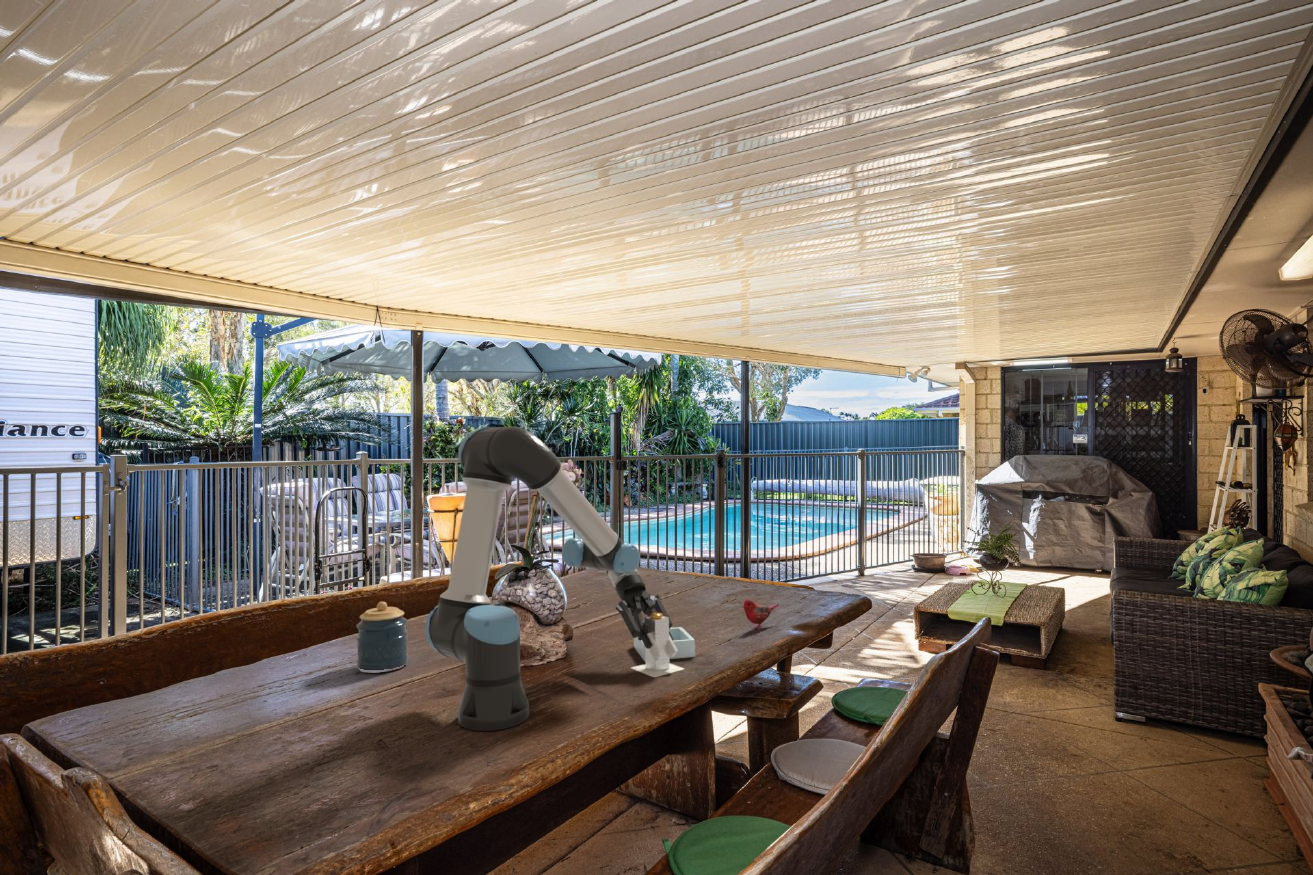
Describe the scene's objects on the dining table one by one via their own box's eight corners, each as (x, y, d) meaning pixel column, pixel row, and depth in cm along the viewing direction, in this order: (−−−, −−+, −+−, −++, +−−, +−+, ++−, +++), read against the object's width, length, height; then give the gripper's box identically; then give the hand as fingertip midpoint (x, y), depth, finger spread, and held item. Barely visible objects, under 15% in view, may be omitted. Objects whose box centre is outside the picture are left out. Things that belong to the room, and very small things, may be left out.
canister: (364, 677, 188) (363, 609, 188) (351, 665, 198) (350, 601, 198) (414, 667, 195) (413, 602, 195) (400, 656, 206) (399, 594, 206)
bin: (644, 666, 192) (643, 643, 192) (634, 651, 206) (633, 630, 206) (695, 662, 196) (694, 639, 196) (681, 647, 209) (681, 627, 209)
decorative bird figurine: (739, 632, 225) (739, 599, 225) (775, 621, 237) (775, 591, 237) (746, 633, 223) (746, 601, 223) (782, 623, 235) (782, 592, 235)
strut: (656, 672, 183) (655, 617, 183) (645, 667, 186) (644, 614, 187) (669, 668, 186) (668, 614, 186) (658, 664, 189) (657, 611, 189)
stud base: (654, 683, 179) (653, 660, 179) (630, 673, 187) (629, 652, 187) (685, 674, 185) (684, 653, 185) (660, 665, 193) (660, 644, 193)
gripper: (647, 585, 204) (686, 657, 191) (594, 594, 193) (632, 671, 180) (658, 568, 200) (699, 641, 186) (605, 576, 189) (644, 654, 176)
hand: (666, 655), depth 183 cm, fingers closed on strut, 4 cm apart
